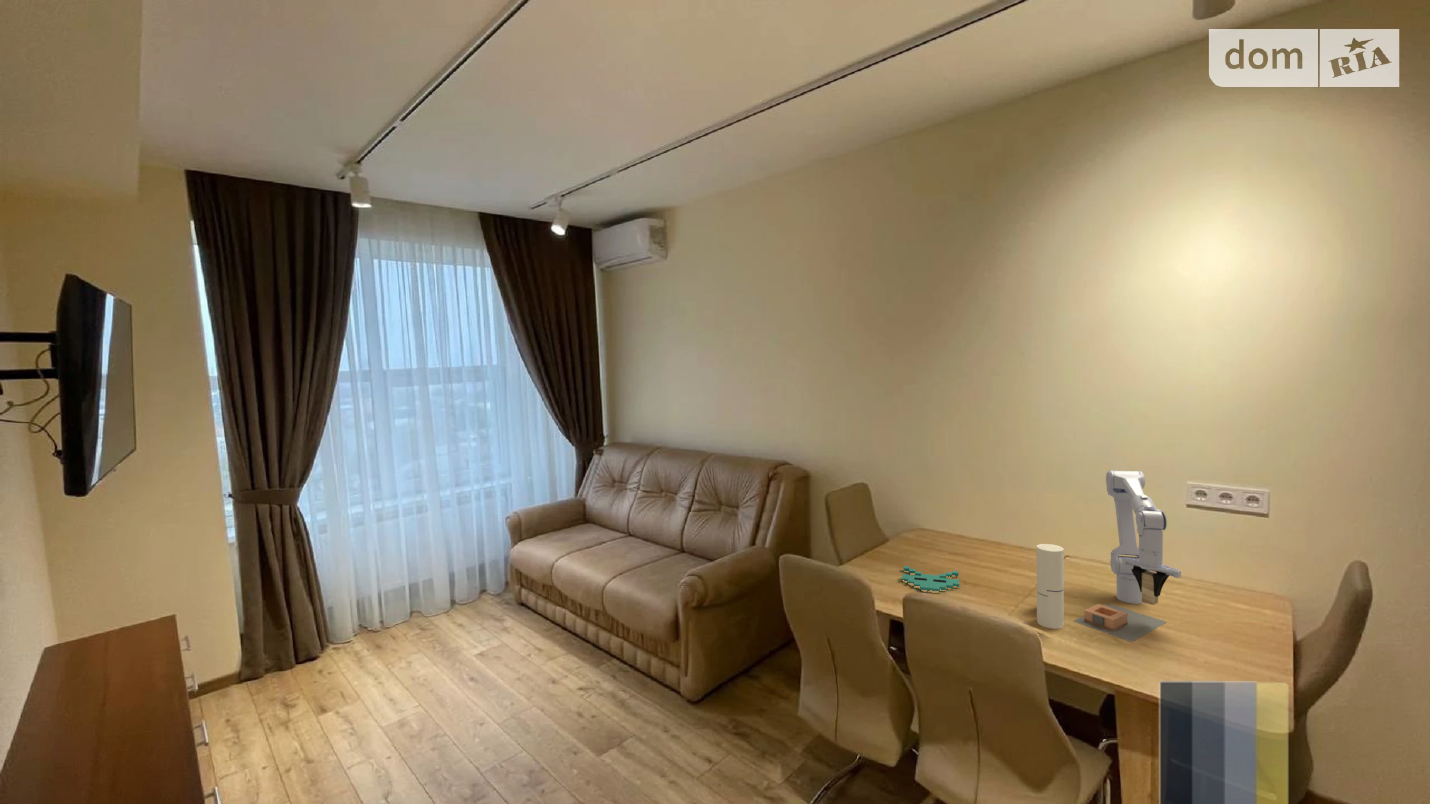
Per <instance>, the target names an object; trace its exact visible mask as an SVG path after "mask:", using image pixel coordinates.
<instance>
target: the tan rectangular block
mask: <svg viewBox="0 0 1430 804" xmlns="http://www.w3.org/2000/svg"><path fill="white" fill-rule="evenodd" d="M1155 573H1156V572H1154V571H1145V572H1143V573H1142V602H1143V603H1145V604H1149V605H1153V606H1155V605H1156V604H1159V596H1158V597H1156V596H1154V580H1153V574H1155Z"/></svg>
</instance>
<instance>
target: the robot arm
mask: <svg viewBox="0 0 1430 804" xmlns="http://www.w3.org/2000/svg"><path fill="white" fill-rule="evenodd" d="M1105 484H1106V491H1107V495H1109V496H1110V497H1112V498H1113V500H1114V505H1115V506H1114V507H1115V514H1116V515H1115V516H1116V522H1117V532H1118V533H1117V534H1118V541H1119V546H1117V547H1115V548H1114V549H1112V550H1111V552H1110V560H1109V561H1110V569H1111V571H1112V573H1113V574H1114V575H1116V599H1118V601H1121V602H1124V603H1127V604H1133V605H1135V604H1136V605H1139V604H1143V603H1144V602H1142V573H1143V572H1145V571H1150V572H1154V573H1155V574H1153V580H1154V596H1156V597H1158V598H1159V596H1161V592H1162V589H1163V587H1164V584H1166V581H1167V580H1168V578H1169V577H1170V576H1171V577H1173V578H1175V579H1180V578H1181V577H1182V570H1181V569H1176V568H1173V567H1172V566H1168V565H1166V564H1163V555H1164V554H1163V550H1164V548H1163V544H1164V543H1163V542H1164V540H1163V539H1164V531H1166V529H1167V525H1168V521H1167V517H1166V513H1165V512H1164V511H1163V510H1161V509H1158V508H1157V507H1156V504H1155V503H1154V501H1153V499H1152V498H1151V497H1150V496H1149V495H1146V494H1145V492H1144V488H1145V485H1146V479H1145V475H1144V473H1143V471H1141V470H1137V471H1136V470H1135V471H1134V470H1130V471H1129V470H1109V469H1108V471H1106V475H1105ZM1134 514H1135V518H1134ZM1135 523H1136V524H1135ZM1135 525H1136V527H1135ZM1136 533H1137V534H1138V544H1137V536H1136Z"/></svg>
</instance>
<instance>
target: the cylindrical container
mask: <svg viewBox="0 0 1430 804" xmlns="http://www.w3.org/2000/svg"><path fill="white" fill-rule="evenodd" d="M1064 550H1065V549H1064V548H1063V547H1062V546H1061V545H1057V544H1050V543H1040V544H1039V543H1038V544H1037V545H1036V622H1037V623H1038V625H1040V626H1042V627H1043V628H1047V629H1051V630H1058V629H1063V628H1064V627H1065V625H1064V623H1065V622H1064V621H1065V618H1064V617H1065V612H1064V611H1065V605H1064V604H1065V602H1064V601H1065V596H1064V595H1065V594H1064V593H1065V592H1064V591H1065V589H1064V588H1065V577H1064V574H1065V571H1064V570H1065V565H1064V564H1065V563H1064V561H1065V557H1064V555H1065V554H1064Z"/></svg>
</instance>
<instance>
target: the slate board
mask: <svg viewBox="0 0 1430 804" xmlns="http://www.w3.org/2000/svg"><path fill="white" fill-rule="evenodd" d="M1104 606H1107V607H1110V608H1114V609H1117V610H1119V611H1122V612H1125V613H1128V617H1127V624H1126V625H1125V626H1123V627H1121V628H1119V629H1117V630H1115V631H1112V630H1109V629H1106V628H1103V627H1100V626H1097V625H1095V624H1092V623H1089V622H1086V621H1084V615H1083V616H1080V617H1077V618H1076V619H1074V620H1073V622H1075V623H1077V624H1080V625H1083V626H1085V627H1088V628H1091V629H1093V630H1096V631H1099V632H1102V633H1105V634H1107V635H1110V636H1113V637H1116V638H1119V639H1121V640H1125V641H1127V642H1130V643H1133V642H1135V641H1136V640H1138V639H1140V638H1142V637H1143V636H1145V635H1147V634H1149V633H1150V632H1152V631H1154V630H1155V629H1157V628H1159V627H1161V626H1163V625H1164V624H1166V623H1167V621H1165V620H1163V619H1159V618H1156V617H1154V616H1153V617H1152V616H1150V615H1147V614H1144V613H1140V612H1137V611H1134V610H1131V609H1127V608H1124V607H1122V606H1117V605H1114V604H1111V603H1108V604H1106V605H1104Z"/></svg>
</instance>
